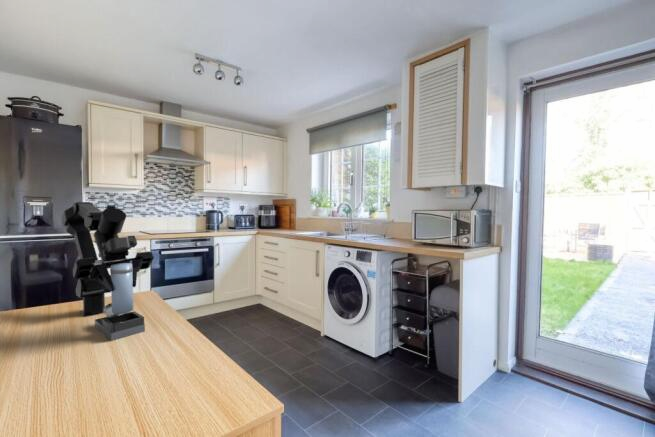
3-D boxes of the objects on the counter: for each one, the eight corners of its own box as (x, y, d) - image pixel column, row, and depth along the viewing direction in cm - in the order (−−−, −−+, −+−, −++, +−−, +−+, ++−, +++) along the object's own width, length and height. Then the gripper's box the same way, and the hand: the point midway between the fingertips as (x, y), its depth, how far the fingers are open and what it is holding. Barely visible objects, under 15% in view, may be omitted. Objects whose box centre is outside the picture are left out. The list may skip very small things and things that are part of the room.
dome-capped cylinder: (107, 312, 84) (105, 265, 84) (125, 306, 89) (123, 262, 89) (120, 314, 83) (119, 267, 82) (138, 308, 88) (137, 263, 87)
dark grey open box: (94, 326, 90) (94, 306, 90) (125, 318, 96) (125, 299, 96) (111, 340, 81) (110, 318, 80) (144, 331, 87) (144, 310, 86)
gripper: (74, 228, 80) (88, 277, 74) (150, 225, 95) (168, 265, 88) (67, 255, 85) (79, 302, 79) (140, 248, 100) (156, 287, 94)
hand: (124, 288), depth 85 cm, fingers closed on dome-capped cylinder, 5 cm apart
